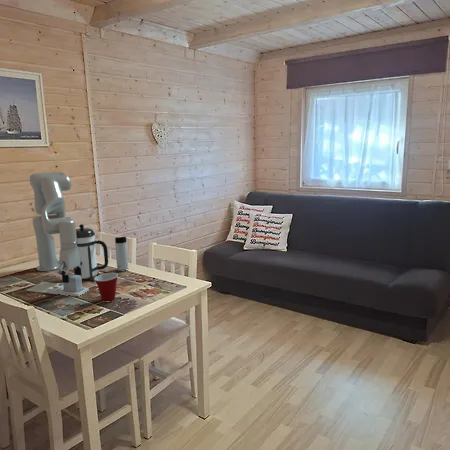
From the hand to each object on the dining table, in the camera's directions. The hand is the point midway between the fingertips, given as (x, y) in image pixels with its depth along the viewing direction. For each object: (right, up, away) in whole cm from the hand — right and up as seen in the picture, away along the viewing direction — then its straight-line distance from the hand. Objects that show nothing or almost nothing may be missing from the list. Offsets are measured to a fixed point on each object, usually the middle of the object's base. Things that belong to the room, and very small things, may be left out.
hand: (72, 279), depth 195 cm
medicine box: (0, -7, +2) cm, 7 cm away
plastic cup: (+20, -9, -8) cm, 23 cm away
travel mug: (+15, 0, +36) cm, 39 cm away
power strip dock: (-3, -7, +3) cm, 8 cm away
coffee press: (0, -3, +23) cm, 23 cm away
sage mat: (-18, -6, +9) cm, 21 cm away
